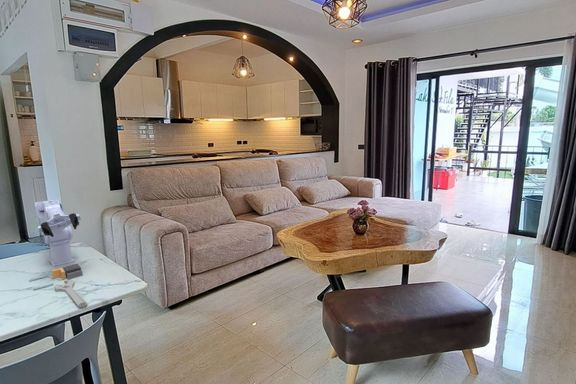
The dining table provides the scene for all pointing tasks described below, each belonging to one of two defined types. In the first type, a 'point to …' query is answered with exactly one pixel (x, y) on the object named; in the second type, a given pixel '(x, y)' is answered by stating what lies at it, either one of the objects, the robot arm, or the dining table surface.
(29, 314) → the dining table surface
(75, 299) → the adjustable wrench
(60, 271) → the orange l-shaped block
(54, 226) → the robot arm
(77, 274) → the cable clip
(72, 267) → the plug block
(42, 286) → the rails
